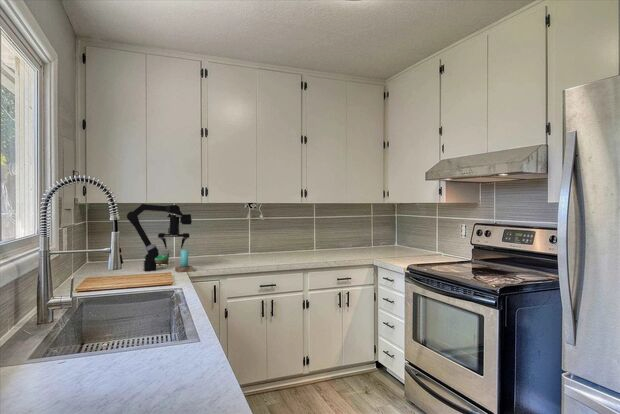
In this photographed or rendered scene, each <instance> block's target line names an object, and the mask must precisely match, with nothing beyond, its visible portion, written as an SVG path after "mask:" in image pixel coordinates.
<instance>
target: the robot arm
mask: <svg viewBox="0 0 620 414" xmlns="http://www.w3.org/2000/svg"><path fill="white" fill-rule="evenodd" d="M144 211H150V212H151V211H152V212H153V211H154V212H165V213H168V214H167V215H166V218H169V227H168V228H167V229H168V230H167V233H166V232H159V233H158V235H157V238H158V239H160V240H162V241H161V242H163V245H164V247H165V250H167V249H168V248H167V246H168V245H167V238H178V237H179V238H182V239H181V246H180V250H183V247H184V243H185V241H186V240H187V239H190V236H191V233H189V232H183V233H180V224H181V225H188V226H189V225H192V221H193V219H192V214H191V213H188V214H187V213H186V214H183V212H182V211H181V208H180V206H179V205H176V204H171V205H170V204H169V205H159V204H158V205H157V204H145V203H141V204H140V205H139V206H138V207H137V208H135V209H134V210H133V211H129V212H127V213H126V219H127V220H128V221H129V222H130V223H131V224H132V226H133V227H134V228H135V230H136V232H137V234H138V235H139V237H140V239H141V240H142V242H143V244H144V246H145V248H146V252H147V254H146V255H144V259H145V260H143V269H142V271H144V272H152V271H153V272H155V271H157V265H156V260H155V258H156V257H158V255H159V253H158V251H160V250H159V249H158V247H157V245H156V244H152V242H151V241H150V239H149V237H148V235H147V234H146V232H145V230H144V228H143V227H142V225H141V223H140V219H139V217H138V216H139V215H140V214H142V213H143V212H144Z"/></svg>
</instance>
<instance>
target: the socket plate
mask: <svg viewBox="0 0 620 414" xmlns="http://www.w3.org/2000/svg"><path fill="white" fill-rule="evenodd" d="M174 271H175V272H178V273H191V272H194V271H195V267H194V266H192V265H188V267H186V268H181V265H178V266H176V265H175V266H174Z"/></svg>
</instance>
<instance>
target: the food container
mask: <svg viewBox="0 0 620 414" xmlns="http://www.w3.org/2000/svg"><path fill="white" fill-rule="evenodd" d="M158 253H159V255H158V257H156V258H155V260H156V264H167V263H168V264H169V259H170V254H171V250H170V249H168V250H167V249H165V250H159V251H158ZM168 264H167V265H168Z"/></svg>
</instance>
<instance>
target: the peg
mask: <svg viewBox="0 0 620 414" xmlns="http://www.w3.org/2000/svg"><path fill="white" fill-rule="evenodd" d="M180 266H181V268H186V267H188V266H189V249H180Z"/></svg>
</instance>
